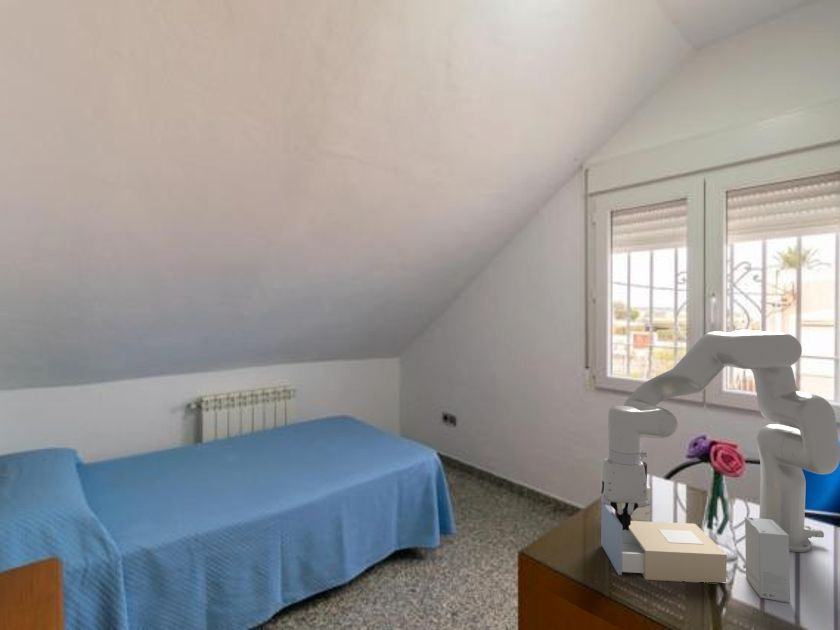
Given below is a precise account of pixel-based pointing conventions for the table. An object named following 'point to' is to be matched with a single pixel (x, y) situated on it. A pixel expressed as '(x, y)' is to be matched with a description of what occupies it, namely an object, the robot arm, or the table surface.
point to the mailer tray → (620, 544)
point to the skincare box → (767, 559)
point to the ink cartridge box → (642, 509)
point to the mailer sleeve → (679, 552)
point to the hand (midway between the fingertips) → (623, 527)
